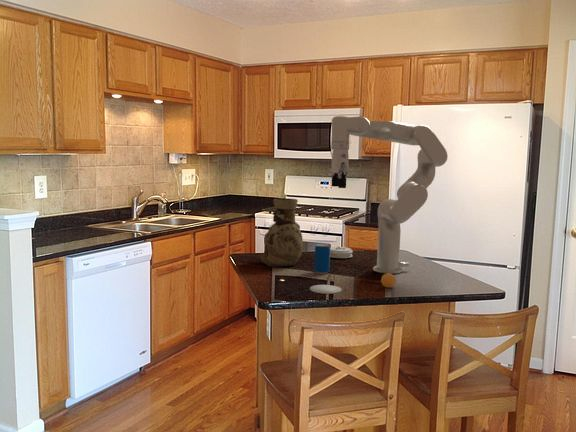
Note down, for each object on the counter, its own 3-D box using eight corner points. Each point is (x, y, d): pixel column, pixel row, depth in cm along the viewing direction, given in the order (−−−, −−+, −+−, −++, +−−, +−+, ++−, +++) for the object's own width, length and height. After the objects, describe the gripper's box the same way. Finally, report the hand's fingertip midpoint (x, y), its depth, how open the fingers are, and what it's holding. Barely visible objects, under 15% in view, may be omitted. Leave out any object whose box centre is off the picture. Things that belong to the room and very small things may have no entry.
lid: (339, 253, 264) (339, 244, 264) (357, 258, 255) (358, 248, 254) (321, 256, 256) (321, 246, 256) (340, 261, 247) (340, 250, 246)
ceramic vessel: (255, 268, 226) (256, 200, 222) (264, 258, 246) (266, 196, 243) (298, 270, 223) (300, 202, 219) (304, 261, 244) (306, 197, 240)
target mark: (336, 284, 200) (336, 284, 200) (345, 293, 189) (345, 292, 189) (306, 285, 198) (306, 285, 198) (314, 294, 186) (314, 293, 186)
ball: (391, 285, 202) (392, 271, 201) (397, 289, 196) (398, 274, 196) (378, 285, 201) (379, 271, 200) (384, 289, 195) (384, 275, 195)
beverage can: (328, 274, 217) (329, 246, 216) (313, 273, 218) (314, 245, 217) (330, 271, 223) (331, 244, 222) (315, 270, 225) (316, 243, 223)
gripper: (355, 146, 208) (353, 188, 210) (342, 146, 225) (340, 185, 227) (337, 146, 206) (336, 188, 208) (325, 146, 223) (324, 185, 225)
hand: (338, 187), depth 218 cm, fingers open, 9 cm apart
